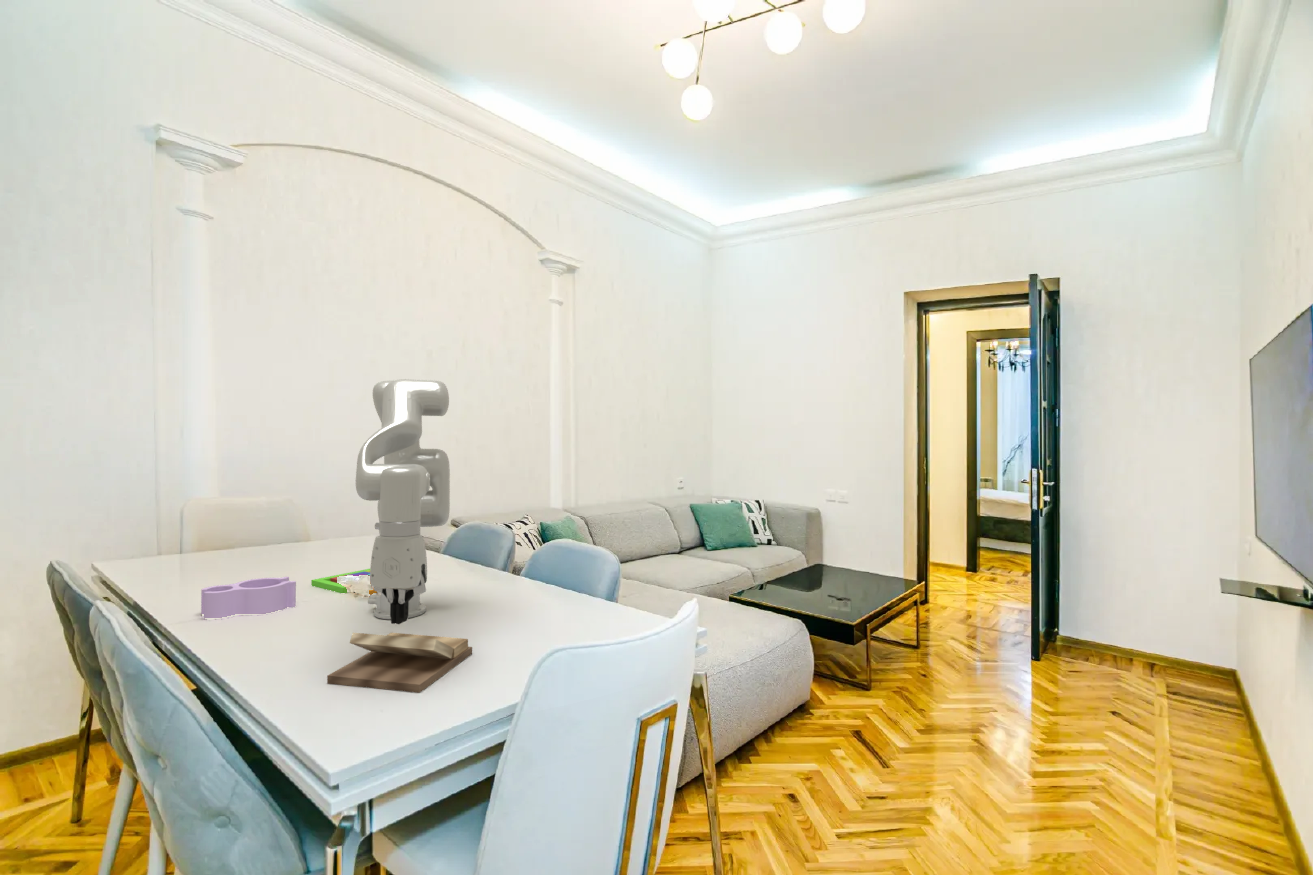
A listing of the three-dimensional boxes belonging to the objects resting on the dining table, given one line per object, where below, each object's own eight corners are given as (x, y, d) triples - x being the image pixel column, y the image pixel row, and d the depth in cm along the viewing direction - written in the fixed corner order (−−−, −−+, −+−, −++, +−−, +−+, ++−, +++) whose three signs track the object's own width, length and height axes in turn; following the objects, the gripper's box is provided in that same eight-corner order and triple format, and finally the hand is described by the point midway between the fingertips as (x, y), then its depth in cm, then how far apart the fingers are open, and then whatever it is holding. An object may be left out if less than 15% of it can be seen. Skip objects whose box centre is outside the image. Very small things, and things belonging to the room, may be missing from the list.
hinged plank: (349, 642, 129) (352, 632, 130) (370, 651, 136) (373, 641, 137) (433, 650, 126) (436, 639, 127) (451, 658, 133) (453, 648, 134)
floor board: (327, 683, 124) (327, 665, 124) (391, 646, 144) (391, 631, 144) (419, 692, 120) (419, 673, 120) (472, 653, 141) (472, 637, 141)
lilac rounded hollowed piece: (207, 624, 158) (207, 596, 158) (198, 613, 167) (198, 586, 167) (298, 609, 172) (299, 583, 172) (285, 599, 181) (285, 574, 181)
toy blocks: (311, 587, 196) (362, 600, 183) (311, 580, 196) (362, 592, 183) (379, 573, 215) (429, 584, 202) (379, 566, 215) (429, 577, 202)
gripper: (354, 530, 127) (353, 625, 128) (425, 533, 125) (423, 630, 125) (377, 525, 135) (376, 614, 135) (444, 528, 132) (443, 619, 132)
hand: (399, 621), depth 130 cm, fingers closed
